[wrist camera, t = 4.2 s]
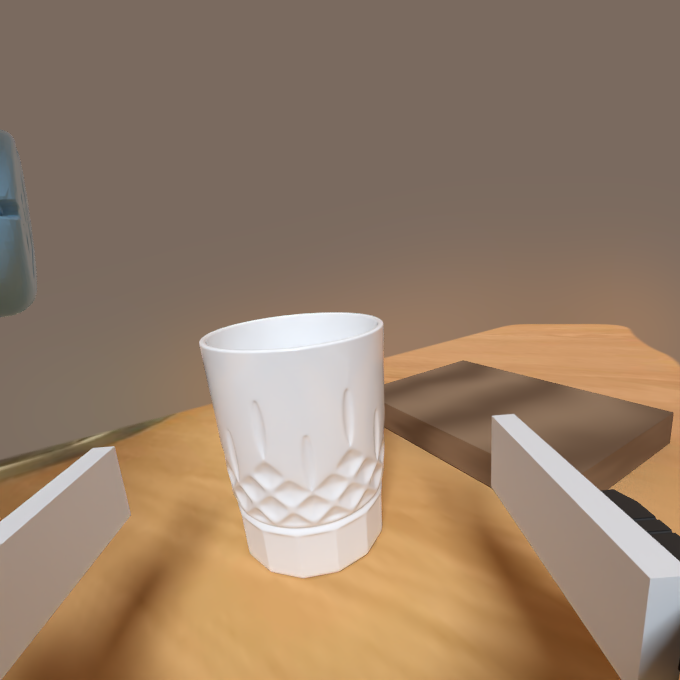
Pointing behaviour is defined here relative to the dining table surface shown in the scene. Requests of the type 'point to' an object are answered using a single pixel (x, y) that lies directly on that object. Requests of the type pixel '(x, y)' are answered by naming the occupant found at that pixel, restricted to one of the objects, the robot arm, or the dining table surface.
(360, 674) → the dining table surface
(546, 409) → the walnut board
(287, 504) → the white cup
